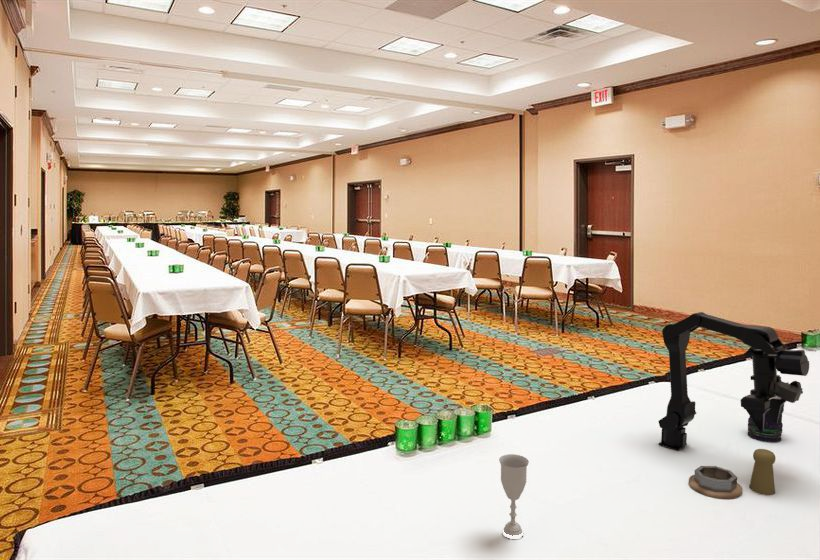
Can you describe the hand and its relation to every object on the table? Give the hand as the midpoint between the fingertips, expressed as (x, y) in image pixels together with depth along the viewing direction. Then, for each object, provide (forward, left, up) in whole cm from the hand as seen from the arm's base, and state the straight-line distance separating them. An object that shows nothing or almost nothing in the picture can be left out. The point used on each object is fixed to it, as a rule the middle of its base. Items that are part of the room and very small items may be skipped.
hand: (768, 427), depth 169 cm
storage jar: (-10, +31, -14) cm, 35 cm away
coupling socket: (-6, -18, -14) cm, 24 cm away
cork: (+3, -10, -14) cm, 18 cm away
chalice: (-28, -77, -14) cm, 84 cm away
